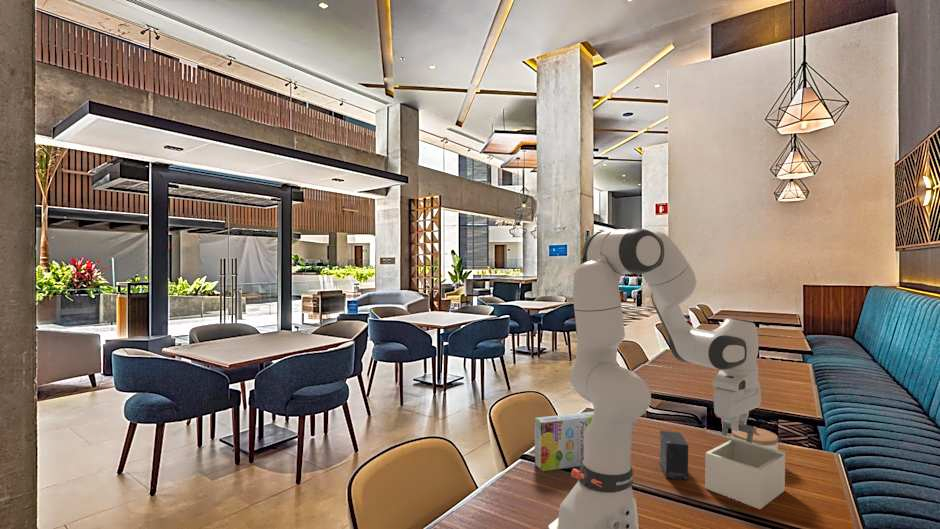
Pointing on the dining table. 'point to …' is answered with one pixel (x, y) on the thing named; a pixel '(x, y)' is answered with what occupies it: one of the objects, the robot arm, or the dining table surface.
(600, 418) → the robot arm
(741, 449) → the carton
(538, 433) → the snack box
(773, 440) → the lidded bowl
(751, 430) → the lid
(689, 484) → the dining table surface
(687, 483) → the dining table surface
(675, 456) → the small box
